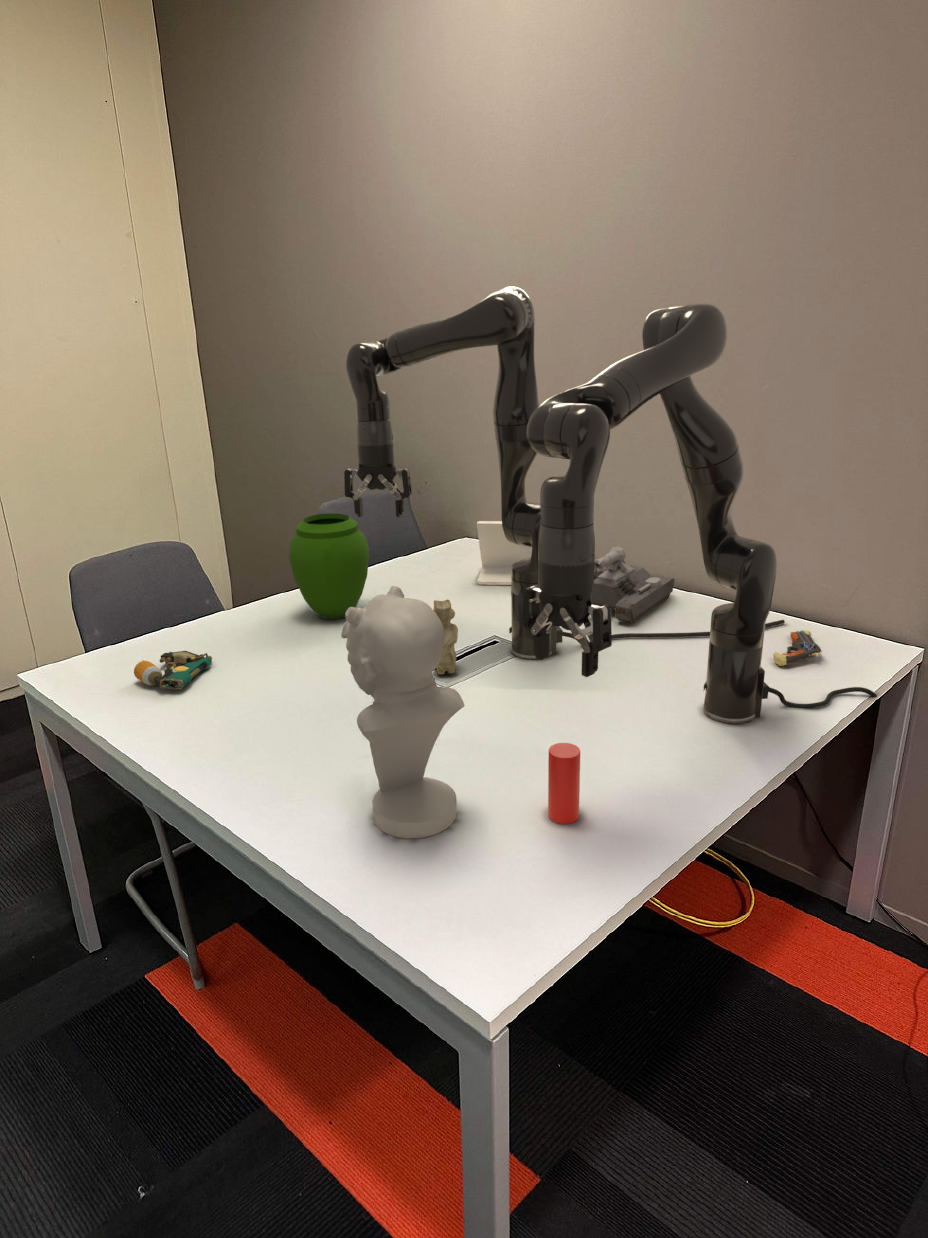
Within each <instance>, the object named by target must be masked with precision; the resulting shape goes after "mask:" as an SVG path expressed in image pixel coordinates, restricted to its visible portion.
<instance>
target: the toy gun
mask: <svg viewBox="0 0 928 1238" xmlns="http://www.w3.org/2000/svg"><path fill="white" fill-rule="evenodd" d="M790 638H791V641H792V642H791V645H790V646H787V647H786V649H787V651H786V653H780V652H777V651H775V652H773V653H772V656H773V660H774V662H775V664H776V665H778V666H780V667H781V666H782V667H783V666H786V665H790V664H795V663H797V662H800V661H804V660H807V659H810V658H811V657H815V656H816V657H819V656H820V654H821V653H823V650H822V649H821V647H820V645H818V644H817V643H816V642H815V641H814V640H813V638H812V632H811V630H800V631H799V630H796V631H791V632H790Z"/></svg>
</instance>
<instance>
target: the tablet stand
mask: <svg viewBox="0 0 928 1238" xmlns="http://www.w3.org/2000/svg"><path fill="white" fill-rule="evenodd" d="M476 531H477V537H478V544H479V551H480V557H481V558H480V559H481V570H480V573H479V575H478V577H477V580H476V581H477V582H476V584H478V585H484V586H485V585H486V586H487V585H489V586H490V585H491V586H511V567H512V565H513V563H515V562H516V561H519V560H522V559H526V558H531V553H532V547H528V546H522V545H516V544H512V543H510V542H509V541H507V539H506V538H505V536H504V533H503V528H502V520H477V522H476Z"/></svg>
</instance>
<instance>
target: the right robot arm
mask: <svg viewBox="0 0 928 1238" xmlns="http://www.w3.org/2000/svg"><path fill="white" fill-rule="evenodd" d="M641 334H642V335H641V336H642V348H643V350H641V351H639V352H636V353H634V354H631V355H628V356H626V357H624V358H621V359H620V360H618V361H616V362H614V363H612V364H610V365H609V366H607V367H606V368H604V369H603V370H602V371H600V372H599V373H598V374H596V375H595V376H593V377H592V378H591V379H590V380H588V381H587V382H586V383H584V384H581V385H578V386H575V387H571V388H569V389H566V390H564V391H562V392H560V393H557V394H554V395H553V396H551V397H549V398H547V399H545V400H543V401H542V402H541V403H540V404H539V406H538V407H537V408H536V409H535V410H534V411H533V413H532V415H531V416H530V419H529V421H528V424H527V439H528V442H529V444H530V446H531V447H532V449H533V450H534V451H535V452H537V455H540V456H543V457H547V458H553V459H554V458H555V459H562V460H563V459H564V460H569V466H568V468H567V471H566V473H565V474H563V475H562V474H560V475H553V476H550V477H548V478H546V479H545V480H544V481H543V482H542V484H541V487H540V493H539V494H540V495H539V499H540V500H539V503H540V531H539V538H538V585H534V586H531V587H528V588H526V589H524V590H523V605H522V626H523V627H524V628H527V627H528V628H529V629H530V630H531V632H532V634H533V635H534V654H535V658H536V659H535V660H537V661H543V660H545V659H547V658H548V657H550V656H549V633H548V632H546V631H547V630H548V629H549V628H550V626H551V625H554V626H559V627H560V628H561V629H563V630H566V631H570V633H572V635H573V637H574V638H575V639H578V641H579V642H578V641H577V642H578V643H579V645H580V646H581V648H582V651H581V676H583V677H584V678H589V677H591V676H593V675H595V674H596V672H597V671H598V669H599V652H602V651H604V650H607V649H609V648H611V647H612V645H613V639H612V635H613V634H612V608H611V607H610V606H609V605H604V606H598V605H593V603H592V601H591V592H592V590H593V587H594V561H595V558H596V557H595V556H596V554H595V553H596V535H595V527H594V526H595V525H594V519H595V518H594V517H595V492H596V489H597V485H598V481H599V477H600V474H601V470H602V467H603V463H604V460H605V457H606V454H607V451H608V447H609V444H610V439H611V430H613V429H615V428H616V427H619V426H620V424H623V422H624V421H626V420H627V419H628V418H629V417H631V416H632V415H633V414H634V413H636V412H637V411H638V410H639V409H640V408H641V407H643V406H644V405H645V404H647V403H648V402H649V401H651V400H652V399H653V398H655V397H656V396H658V395H659V396H660V399H661V401H662V404H663V406H664V409H665V412H666V415H667V419H668V421H669V424H670V426H671V431H672V435H673V437H674V441H675V444H676V447H677V453H678V458H679V461H680V464H681V468H682V472H683V476H684V479H685V482H686V485H687V487H688V490H689V494H690V499H691V502H692V506H693V510H694V514H695V518H696V523H697V528H698V533H699V540H700V541H699V542H700V546H701V547H700V548H701V553H702V560H703V564H704V569H705V572H706V574H707V577H708V578H709V580H711V582H713V583H714V584H716V585H718V586H720V587H723V588H726V589H730V590H733V591H736V593H735V600H734V602H729V603H724V604H720V605H718V606H716V607H714V608H713V610H712V611H711V615H710V628H709V629H710V630H709V632H710V636H709V639H708V640H709V642H708V656H707V666H706V667H707V668H706V679H705V682H704V684H703V689H702V690H703V692H705V694H704V703H703V710H702V711H703V713H704V714H705V715H706V716H707V717H708V718H709V719H712V720H714V721H716V722H720V723H724V724H734V725H739V724H740V725H741V724H746V723H749V722H752V721H754V720H755V719H760V718H761V713H762V706H763V705H762V703H763V700H768V699H769V693H771V694H773V695H775V696H777V697H778V699H779V701H780V703H781V704H783V705H784V706H786V707H789V708H795V709H807V710H808V709H815V708H822V707H824V706H827V705H828V704H830V702H831V700H832V698H833V697H834V696H838V695H842V694H847V693H857V692H858V693H864V694H867V695H869V696H870V697H872V698H877V697H878V695H877V694H876V693H875V692H874V691H873V690H871V689H869V688H868V687H867V688H866V687H861V686H851V687H844V688H840V689H835V690H832V691H830V692H828V694H826V697H825V699H824V700H822V701H818V702H811V703H795V702H791V701H788V700H786V699H785V695H784V693H782V692H781V691H779V690H778V689H775V688H774V687H770V686H769V685H768V684H767V683H766V682H765V676H766V671H765V669H764V668H763V667H762V658H763V649H764V640H765V639H764V638H765V629H766V628H765V624H766V623H767V619H768V616H769V615H770V612H771V608H772V601H773V596H774V589H775V584H776V578H777V570H778V556H777V553H776V550H775V548H774V547H773V546H772V545H771V544H769V543H766V542H763V541H759V540H757V539H752V538H748V537H744V536H741V535H739V533H738V532H737V530H736V528H735V524H734V520H733V515H732V506H733V504H734V501H735V500H736V497H737V495H738V493H739V491H740V488H741V486H742V483H743V480H744V461H743V458H742V454H741V450H740V444H739V441H738V438H737V435H736V433H735V431H734V429H733V428H732V427H731V425H730V424H729V423H728V421H727V420H726V419H725V418H724V416H722V415H721V414H720V413H719V412H718V411H717V410H716V409H715V408H714V406H712V405H711V404H710V403H709V402H708V401H707V399H705V397H703V395H702V394H701V393H700V391H699V390H698V388H697V386H696V385H695V383H694V381H693V379H692V377H691V376H692V375H695V374H697V373H699V372H702V371H704V370H706V369H708V368H710V367H712V366H713V365H715V364H716V363H717V362H718V361H719V360H720V358H721V357H722V355H723V354H724V352H725V349H726V345H727V341H728V326H727V321H726V318H725V316H724V314H723V312H722V311H721V309H719V307H717V306H716V305H714V304H712V303H705V302H704V303H703V302H702V303H691V304H685V305H677V306H670V307H664V308H659V309H655V310H653V311H651V312H650V313H649V314H648V315H647V316H646V318H645V320H644V322H643V326H642V333H641ZM540 602H541V604H542V606H543V608H544V610H543V611H542V612H541V614H540ZM530 615H531V617H530ZM582 625H584V628H580V627H581V626H582ZM575 639H574V640H575ZM589 641H590V642H589Z"/></svg>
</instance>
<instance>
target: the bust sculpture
mask: <svg viewBox="0 0 928 1238" xmlns="http://www.w3.org/2000/svg"><path fill="white" fill-rule="evenodd" d="M433 610H434V608H432V607H431V606H430V605H429V604H428V603H427V602H424V601H423V600H420V599H418V598H410V597H405V594H404V593H403V590H402V588H401V587H399V586H397V585H391V586H390V587H389V590H388V592H387V593H386V594H378V595H375V596H374V597H372V598H371V599H370V600H369V601H368V603H366V604H365V606H364V607H358V606H356V607H349V608H348V609H347V611H346V613H345V622H344V623H343V625H342V628H341V629H342V630H341V634H340V638H342V639H346V643H345V648H346V651H347V652H348V653H347V662H348V664H349V666H350V673H351V675H352V678H353V680H354V682H355V683H356V685H357V686H358V688H359V689H360V690H361V691H362V692H364V693H365V694H366V695H369V696H370V697H371V698H373V702H372V704H370V705H368V706H366V707H365V708H363V709H362V710H361V711H360V712H359V713H358V715H357V717H356V725H357V728H358V729H359V731H360V733H361V735H362V736H363V737H364V738H365V739H366V740H367V741H368V742H369V748H370V754H371V757H372V763H373V767H374V772H375V775H376V778H377V781H378V788H379V789H378V790H377V791H376V793H375V794H374V795H373V798H372V802H371V803H372V815H373V818H372V819H373V822H374V824H375V826H376V827H377V828H378V829H379V830H381V831H382V832H383V833H385V834H387V835H389V836H390V835H391V836H392V837H396V838H401V839H420V838H426V837H431V836H434V835H437V834H439V833H441V832H443V831H445V830H446V829H448V828H449V827H450V826H451V825H452V824H453V823H454V822H455V820H456V818H457V814H458V809H457V808H458V807H457V805H458V804H457V795H456V791H455V790H454V789H453V787H451V786H450V785H449V784H448V783H446V782H444V781H442V780H439V779H436V778H432V777H425V773H426V768H427V766H428V763H429V760H430V759H429V758H430V757H431V753H432V751H433V748H434V746H435V745H436V742H437V740H438V737H439V736H440V734H441V732H442V730H443V729H444V727H445V725H446V724H447V723H448V722H449V721H450V720H451V718H452V717H453V716H454V715H456V714H457V713H458V712H459V711H461V710H462V709H463V708H464V707H465V702H464V700H463V698H462V696H461V694H460V693H459V692H458V691H457V690H456V689H454V688H452V687H449V686H438V685H437V682H436V677H434V674H433V672H434V671H435V670H436V669H437V668H436V667H437V666H438V664H439V662H440V659H441V656H442V652H443V647H444V636H445V634H444V628H443V625H442V623H441V620H440V619H439V617H438V615H437V614H436V613H435V612H434V611H433Z"/></svg>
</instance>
